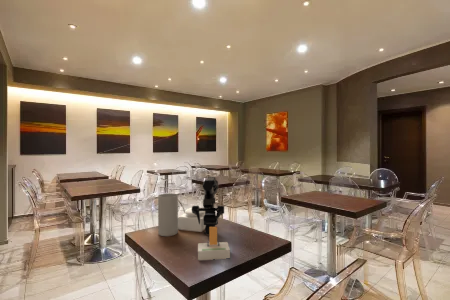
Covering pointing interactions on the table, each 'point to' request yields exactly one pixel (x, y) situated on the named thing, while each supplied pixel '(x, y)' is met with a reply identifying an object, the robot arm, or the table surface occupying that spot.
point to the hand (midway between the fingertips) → (207, 224)
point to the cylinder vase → (167, 214)
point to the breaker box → (213, 251)
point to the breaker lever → (213, 235)
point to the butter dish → (191, 221)
